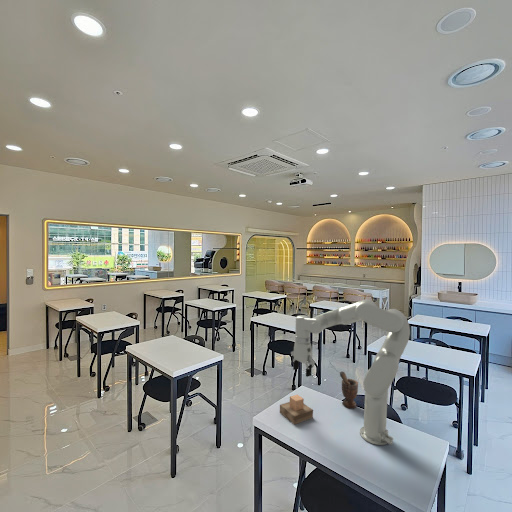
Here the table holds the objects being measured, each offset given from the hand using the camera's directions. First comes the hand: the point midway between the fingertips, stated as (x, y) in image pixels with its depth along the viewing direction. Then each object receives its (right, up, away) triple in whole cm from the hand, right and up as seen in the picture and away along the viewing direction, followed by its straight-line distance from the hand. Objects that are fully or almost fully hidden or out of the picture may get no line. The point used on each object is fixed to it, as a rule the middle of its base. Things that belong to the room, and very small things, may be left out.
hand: (302, 372), depth 150 cm
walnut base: (-3, -22, -1) cm, 22 cm away
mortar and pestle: (+27, -23, +9) cm, 36 cm away
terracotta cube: (-3, -18, -1) cm, 18 cm away
